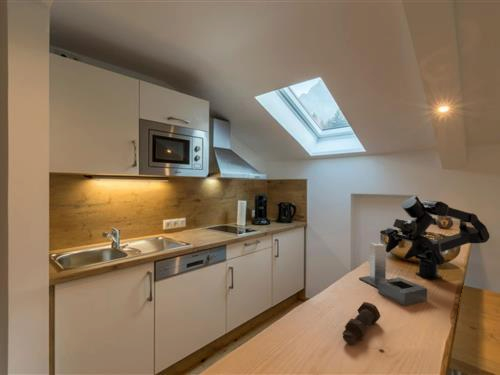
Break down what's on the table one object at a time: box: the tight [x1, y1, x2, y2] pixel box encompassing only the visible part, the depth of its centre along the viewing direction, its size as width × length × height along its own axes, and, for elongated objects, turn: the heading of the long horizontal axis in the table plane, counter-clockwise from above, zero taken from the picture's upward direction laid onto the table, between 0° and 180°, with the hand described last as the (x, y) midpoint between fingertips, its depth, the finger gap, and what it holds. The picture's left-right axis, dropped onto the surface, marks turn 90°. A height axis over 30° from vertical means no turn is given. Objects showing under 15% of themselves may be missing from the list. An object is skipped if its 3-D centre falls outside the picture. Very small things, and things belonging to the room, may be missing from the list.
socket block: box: [377, 276, 428, 307], centre depth 84 cm, size 10×10×4 cm
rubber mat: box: [358, 275, 388, 289], centre depth 96 cm, size 9×9×1 cm
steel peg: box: [369, 242, 387, 283], centre depth 96 cm, size 4×4×14 cm
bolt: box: [342, 301, 381, 345], centre depth 65 cm, size 6×5×15 cm
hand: (395, 255), depth 98 cm, fingers open, 9 cm apart
